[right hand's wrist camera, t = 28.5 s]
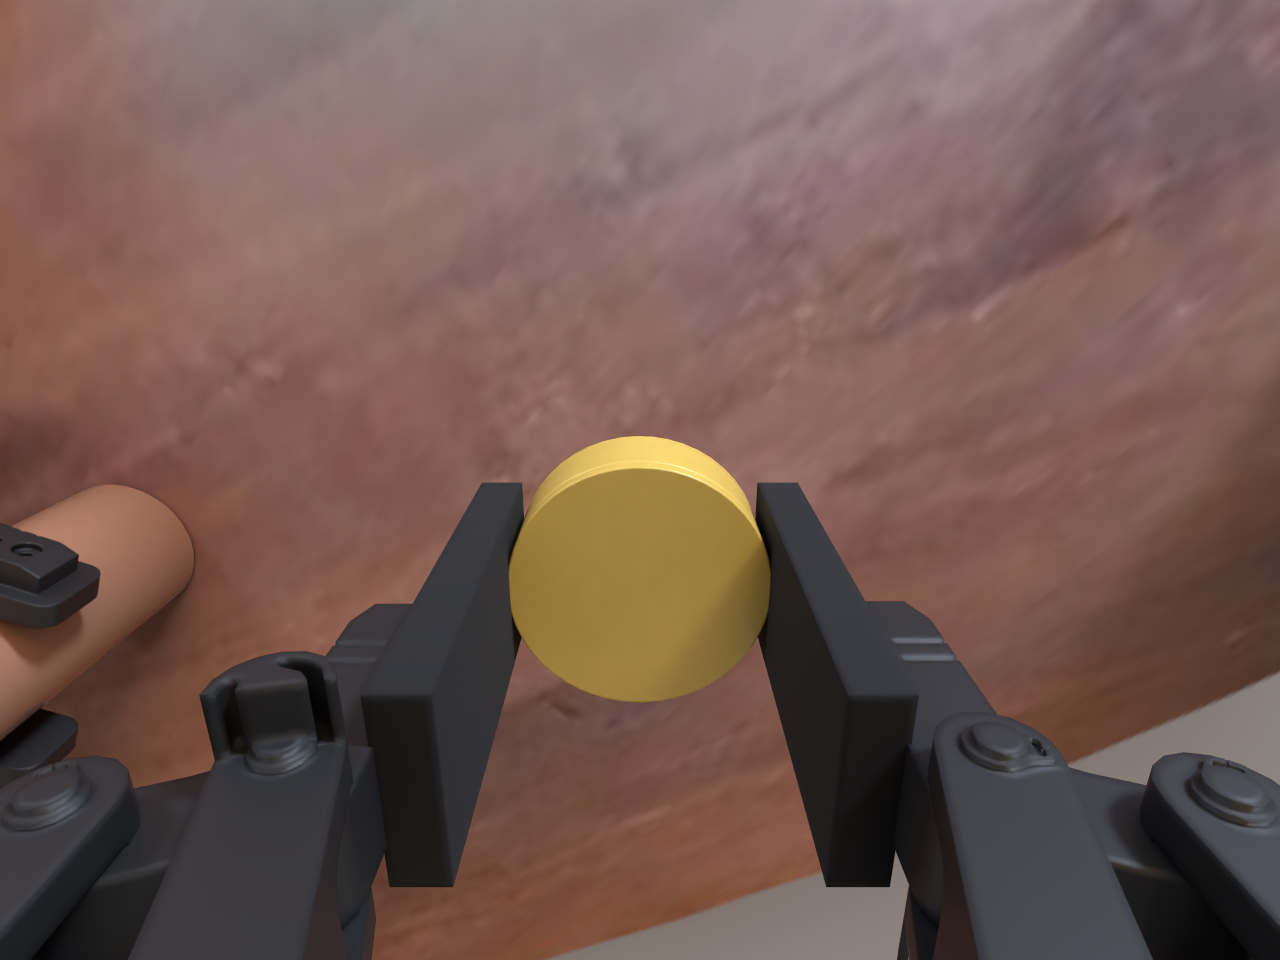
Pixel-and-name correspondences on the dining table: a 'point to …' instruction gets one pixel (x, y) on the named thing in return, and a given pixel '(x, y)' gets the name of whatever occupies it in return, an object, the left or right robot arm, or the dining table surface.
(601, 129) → the dining table surface
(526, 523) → the cap
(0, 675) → the bottle
